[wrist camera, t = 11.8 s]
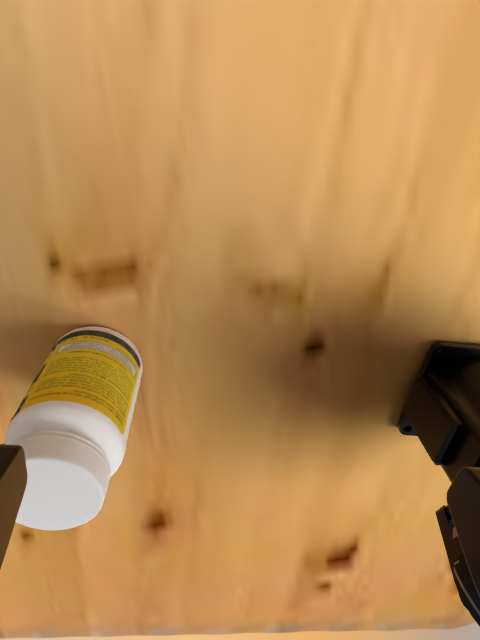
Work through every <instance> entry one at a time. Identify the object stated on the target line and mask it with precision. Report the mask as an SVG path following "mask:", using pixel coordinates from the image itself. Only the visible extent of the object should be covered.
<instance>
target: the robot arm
mask: <svg viewBox="0 0 480 640" xmlns="http://www.w3.org/2000/svg"><path fill="white" fill-rule="evenodd" d="M440 350H442V351H441V352H440V353H437V352H438V351H440ZM406 426H407V427H406ZM397 427H398V429H399V431H400V433H401V434H403V435H413V436H418V438H419V439H420V441H421V443H422V444H423V446H424V448H425V449H426V451H427V453H428V454H429V456H430V458H431V459H432V461H433V462H434V463H435V465H441V466H442V468H443V469H444V471H445V473H446V474H447V476H448V478H449V479H450V481H451V483H452V484H451V486H450V488H449V489H448V492H447V503H448V505H447V506H443V507H441V508H440V509H439V510H438V511H436V516H437V519H438V523H439V527H440V530H441V534H442V537H443V541H444V545H445V548H446V552H447V555H448V559H449V563H450V566H451V570H452V574H453V577H454V581H455V584H456V586H457V589H458V592H459V596H460V599H461V601H462V603H463V605H464V606H465V607H466V608H467V609H468V610H469V612H470V614H471V615H472V617H473V618H474V619H475V621H476V622H477V623H478V625H479V626H480V345H471V344H460V343H448V342H437V343H434V344H433V345H432V346H431V347H430V349H429V351H428V353H427V356H426V358H425V360H424V363H423V365H422V367H421V370H420V372H419V375H418V377H417V378H416V380H415V382H414V385H413V387H412V389H411V392H410V394H409V396H408V399H407V401H406V403H405V406H404V408H403V412H402V415H401V417H400V419H399V422H398V424H397ZM27 477H28V475H27V467H26V460H25V453H24V449H23V447H22V446H20V445H9V444H1V445H0V569H1V566H2V563H3V560H4V557H5V553H6V550H7V547H8V544H9V540H10V537H11V534H12V531H13V528H14V524H15V521H16V518H17V515H18V511H19V508H20V505H21V502H22V499H23V495H24V492H25V489H26V485H27Z"/></svg>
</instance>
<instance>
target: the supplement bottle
mask: <svg viewBox="0 0 480 640" xmlns="http://www.w3.org/2000/svg"><path fill="white" fill-rule="evenodd" d="M142 373H143V364H142V359H141V356H140V354H139V352H138V350H137V348H136V347H135V345H134V344H133V343H132V342H131V341H130V340H129V339H128V338H126V337H125V336H124V335H122V334H120V333H118V332H116V331H114V330H112V329H108V328H104V327H97V326H90V327H82V328H78V329H74V330H72V331H70V332H68V333H66V334H65V335H63V336H62V337H61V338H60V339H59V340H58V341H57V342H56V344H55V345H54V347H53V348H52V350H51V352H50V354H49V355H48V357H47V359H46V361H45V362H44V364H43V366H42V368H41V369H40V371H39V373H38V374H37V376H36V378H35V380H34V381H33V383H32V385H31V387H30V388H29V390H28V392H27V394H26V396H25V397H24V399H23V401H22V402H21V404H20V406H19V408H18V410H17V411H16V413H15V415H14V416H13V418H12V419H11V422H10V424H9V426H8V429H7V431H6V435H5V444H9V445H20V446H22V447H23V449H24V453H25V460H26V467H27V475H28V477H27V485H26V489H25V492H24V495H23V499H22V502H21V505H20V508H19V511H18V515H17V518H16V521H15V522H17V523H19V524H21V525H24V526H27V527H31V528H35V529H41V530H64V529H69V528H74V527H77V526H80V525H82V524H85V523H86V522H88V521H90V520H91V519H92V518H94V517H95V516H96V515H97V513H98V512H99V511H100V509H101V507H102V505H103V502H104V498H105V495H106V491H107V488H108V485H109V482H110V477H111V476H112V475H113V474H114V473H115V472H116V471H117V469H118V468H119V466H120V465H121V463H122V460H123V458H124V454H125V451H126V447H127V442H128V437H129V432H130V428H131V423H132V419H133V414H134V410H135V405H136V401H137V396H138V392H139V387H140V383H141V379H142Z"/></svg>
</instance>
